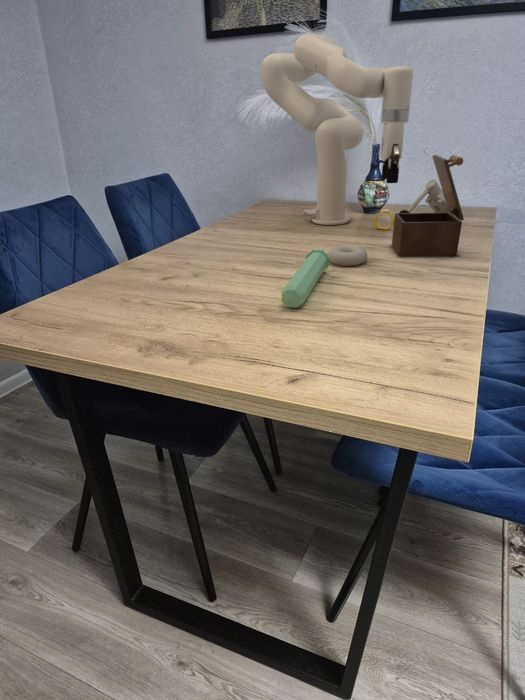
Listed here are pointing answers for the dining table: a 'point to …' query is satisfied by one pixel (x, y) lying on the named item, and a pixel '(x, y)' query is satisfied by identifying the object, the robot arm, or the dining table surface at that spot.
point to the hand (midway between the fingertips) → (389, 180)
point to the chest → (426, 234)
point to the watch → (384, 212)
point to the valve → (431, 198)
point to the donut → (347, 255)
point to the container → (305, 278)
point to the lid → (449, 183)
